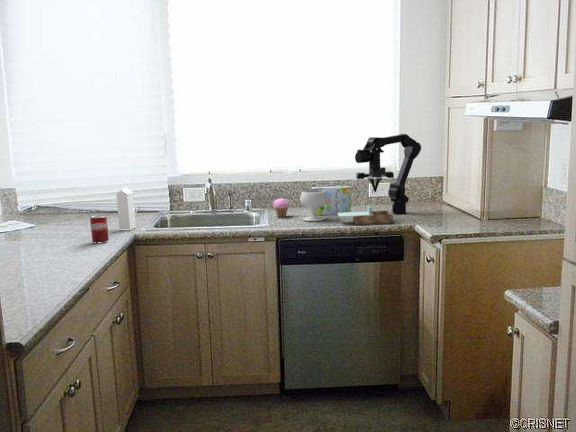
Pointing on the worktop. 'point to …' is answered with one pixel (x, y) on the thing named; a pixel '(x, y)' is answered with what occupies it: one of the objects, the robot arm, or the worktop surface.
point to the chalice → (313, 202)
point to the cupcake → (281, 207)
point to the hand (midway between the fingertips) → (375, 191)
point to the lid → (356, 213)
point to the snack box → (335, 200)
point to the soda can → (99, 228)
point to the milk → (126, 208)
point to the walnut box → (374, 218)
